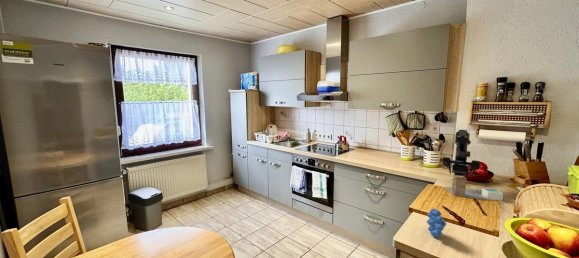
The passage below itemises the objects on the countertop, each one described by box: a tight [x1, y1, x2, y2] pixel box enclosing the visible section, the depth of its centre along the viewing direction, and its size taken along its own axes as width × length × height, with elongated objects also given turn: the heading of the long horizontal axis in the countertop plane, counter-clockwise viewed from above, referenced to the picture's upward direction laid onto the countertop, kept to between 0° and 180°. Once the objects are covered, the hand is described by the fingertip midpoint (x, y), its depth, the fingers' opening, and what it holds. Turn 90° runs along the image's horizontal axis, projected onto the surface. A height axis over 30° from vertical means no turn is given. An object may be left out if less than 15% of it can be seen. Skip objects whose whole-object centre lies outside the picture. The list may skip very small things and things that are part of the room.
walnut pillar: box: [451, 174, 467, 198], centre depth 141 cm, size 5×5×11 cm
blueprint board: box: [444, 186, 504, 203], centre depth 145 cm, size 16×24×5 cm, turn 74°
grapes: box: [426, 208, 447, 238], centre depth 99 cm, size 12×7×12 cm, turn 169°
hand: (459, 174), depth 145 cm, fingers open, 9 cm apart
